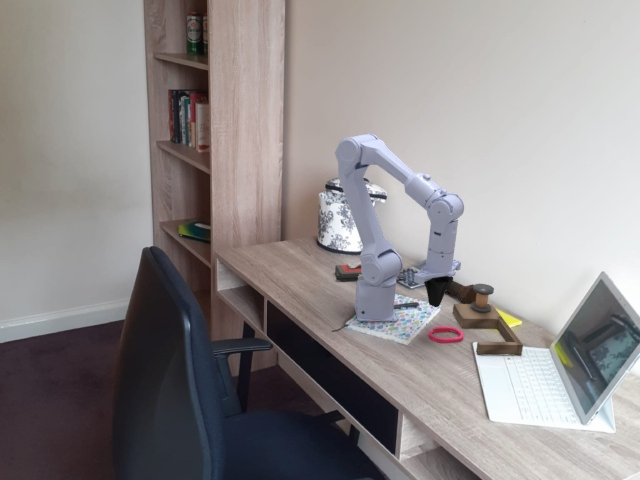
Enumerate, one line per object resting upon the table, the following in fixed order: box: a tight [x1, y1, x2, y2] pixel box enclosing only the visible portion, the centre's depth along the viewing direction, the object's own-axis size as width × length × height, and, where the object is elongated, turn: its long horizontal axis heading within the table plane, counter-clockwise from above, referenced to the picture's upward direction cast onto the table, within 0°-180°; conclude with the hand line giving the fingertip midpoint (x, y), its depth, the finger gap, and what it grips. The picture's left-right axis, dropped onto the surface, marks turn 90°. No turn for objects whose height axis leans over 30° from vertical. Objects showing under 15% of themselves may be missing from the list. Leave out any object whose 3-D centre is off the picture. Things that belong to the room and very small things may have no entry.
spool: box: [471, 283, 495, 313], centre depth 145 cm, size 5×5×6 cm
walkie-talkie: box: [334, 260, 407, 282], centre depth 167 cm, size 9×4×20 cm
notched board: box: [452, 303, 524, 356], centre depth 139 cm, size 10×20×2 cm, turn 4°
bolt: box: [446, 280, 477, 304], centre depth 159 cm, size 6×5×15 cm
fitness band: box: [427, 326, 465, 344], centre depth 136 cm, size 8×6×2 cm
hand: (434, 305), depth 135 cm, fingers closed
